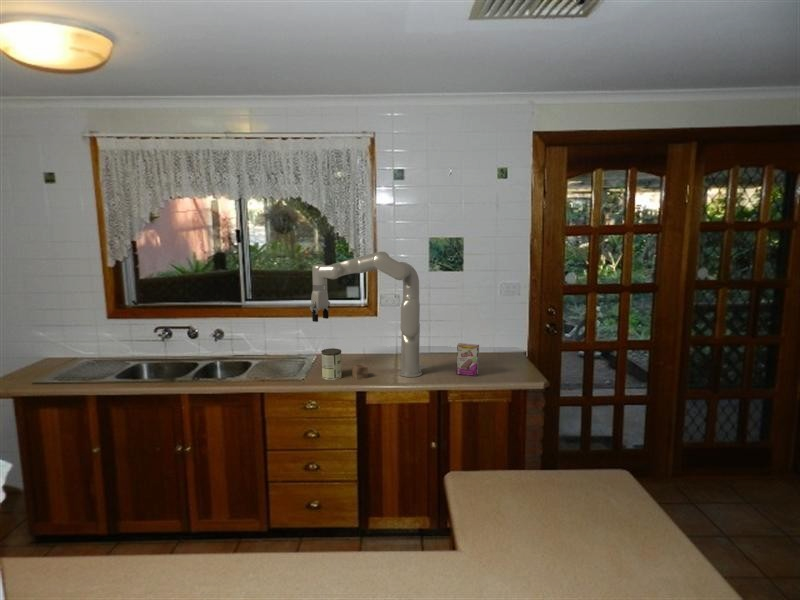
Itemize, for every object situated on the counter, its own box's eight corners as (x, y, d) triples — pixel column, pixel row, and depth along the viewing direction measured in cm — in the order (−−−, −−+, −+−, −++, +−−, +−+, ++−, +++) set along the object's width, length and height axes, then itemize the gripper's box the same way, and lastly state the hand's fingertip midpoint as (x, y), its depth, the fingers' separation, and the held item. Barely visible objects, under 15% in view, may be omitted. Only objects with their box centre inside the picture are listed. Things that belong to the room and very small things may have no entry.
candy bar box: (456, 374, 271) (456, 344, 268) (457, 372, 275) (458, 342, 273) (477, 376, 268) (478, 346, 265) (478, 374, 272) (479, 344, 270)
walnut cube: (363, 375, 270) (362, 364, 269) (367, 378, 265) (367, 367, 264) (352, 376, 267) (352, 365, 266) (357, 379, 262) (356, 368, 261)
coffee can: (324, 373, 272) (324, 348, 269) (343, 374, 271) (343, 348, 268) (319, 379, 262) (319, 353, 259) (339, 380, 261) (339, 353, 258)
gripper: (323, 285, 277) (323, 316, 279) (304, 289, 261) (305, 322, 264) (334, 286, 274) (335, 317, 276) (316, 290, 258) (317, 323, 261)
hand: (320, 319), depth 270 cm, fingers open, 9 cm apart
